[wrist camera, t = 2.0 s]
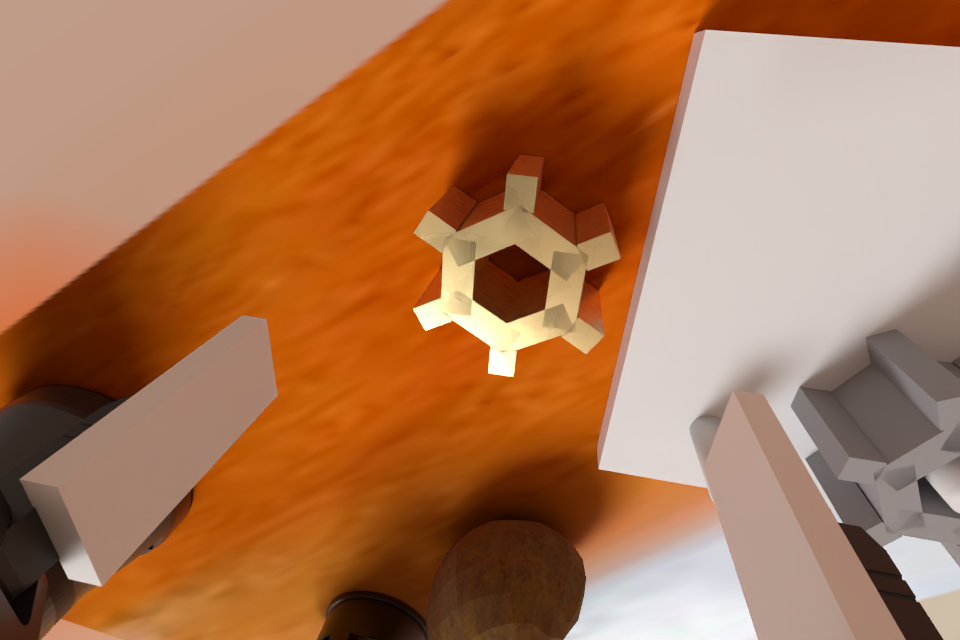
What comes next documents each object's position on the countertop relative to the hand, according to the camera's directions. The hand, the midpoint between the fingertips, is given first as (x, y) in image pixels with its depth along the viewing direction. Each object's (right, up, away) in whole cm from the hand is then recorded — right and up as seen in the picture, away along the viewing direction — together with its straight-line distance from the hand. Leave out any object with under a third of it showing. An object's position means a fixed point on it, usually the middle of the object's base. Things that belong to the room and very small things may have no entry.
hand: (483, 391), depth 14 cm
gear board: (+18, +3, +10) cm, 20 cm away
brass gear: (+2, +6, +11) cm, 13 cm away
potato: (+2, -14, +22) cm, 26 cm away
